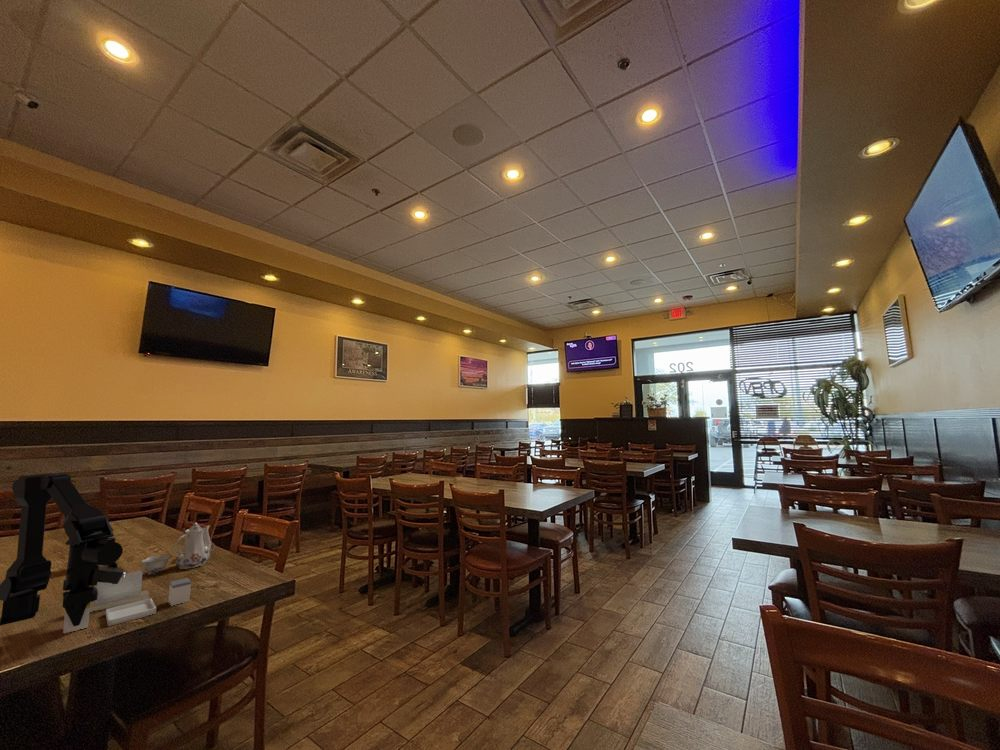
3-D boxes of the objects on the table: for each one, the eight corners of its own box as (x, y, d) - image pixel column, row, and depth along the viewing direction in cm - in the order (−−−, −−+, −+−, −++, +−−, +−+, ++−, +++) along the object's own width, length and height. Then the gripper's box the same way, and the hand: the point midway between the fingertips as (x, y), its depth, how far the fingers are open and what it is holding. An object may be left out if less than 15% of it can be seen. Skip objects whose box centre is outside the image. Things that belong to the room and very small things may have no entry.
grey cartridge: (170, 606, 121) (172, 585, 122) (168, 602, 124) (170, 581, 125) (189, 601, 125) (191, 581, 125) (186, 597, 128) (188, 577, 128)
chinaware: (196, 557, 171) (196, 516, 173) (234, 553, 169) (233, 513, 171) (130, 583, 143) (131, 534, 145) (174, 580, 142) (174, 530, 144)
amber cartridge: (63, 634, 105) (66, 610, 106) (63, 628, 108) (65, 605, 109) (87, 628, 109) (90, 604, 109) (87, 622, 112) (89, 599, 112)
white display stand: (85, 613, 117) (88, 581, 118) (84, 609, 120) (87, 577, 121) (148, 598, 127) (151, 568, 128) (146, 594, 130) (149, 565, 131)
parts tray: (108, 626, 109) (108, 620, 110) (105, 614, 116) (106, 609, 116) (156, 613, 117) (156, 608, 117) (151, 603, 124) (151, 598, 124)
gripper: (126, 562, 110) (120, 623, 108) (120, 547, 123) (114, 602, 121) (66, 573, 102) (59, 639, 100) (66, 556, 115) (59, 615, 113)
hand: (76, 622), depth 109 cm, fingers closed on amber cartridge, 4 cm apart
